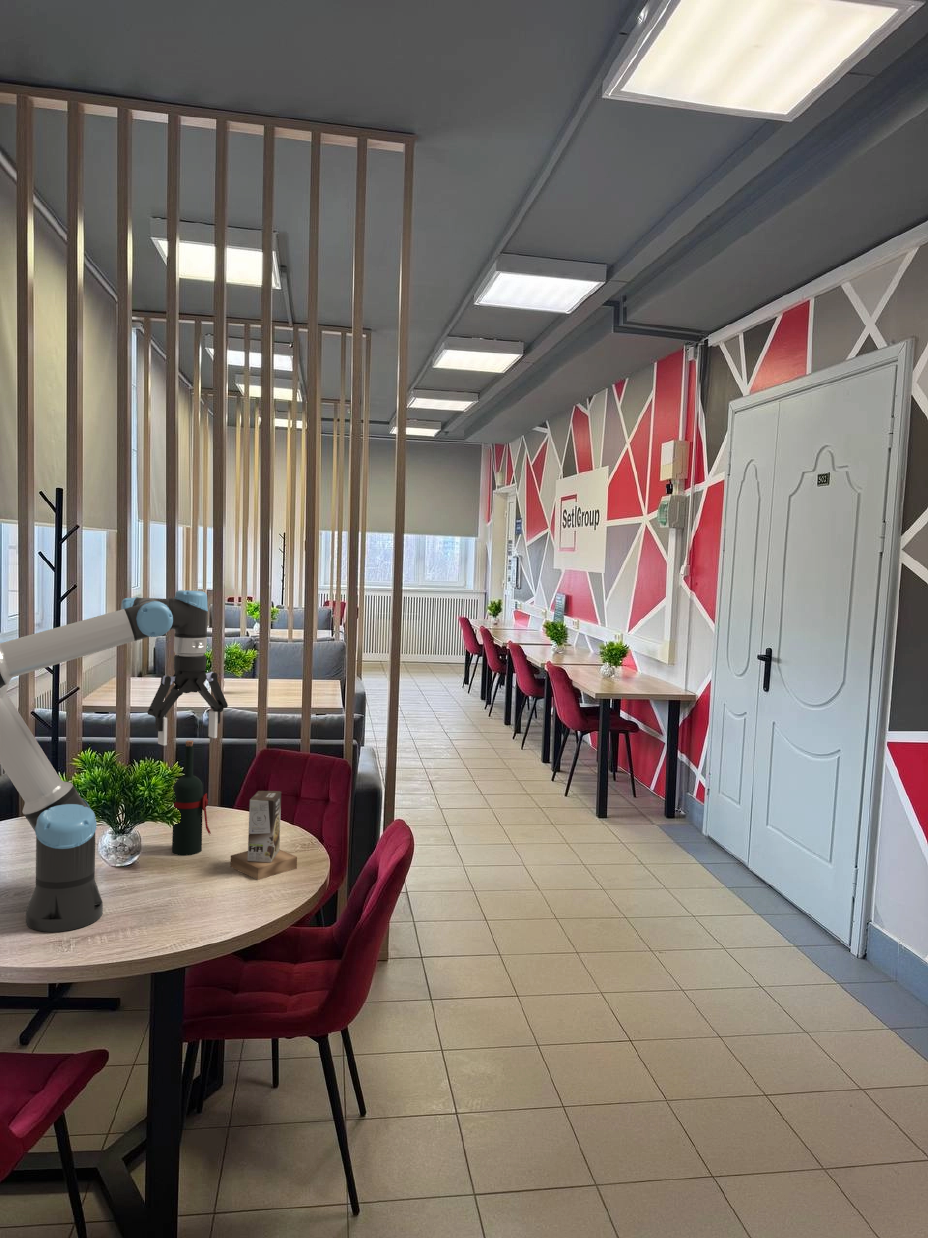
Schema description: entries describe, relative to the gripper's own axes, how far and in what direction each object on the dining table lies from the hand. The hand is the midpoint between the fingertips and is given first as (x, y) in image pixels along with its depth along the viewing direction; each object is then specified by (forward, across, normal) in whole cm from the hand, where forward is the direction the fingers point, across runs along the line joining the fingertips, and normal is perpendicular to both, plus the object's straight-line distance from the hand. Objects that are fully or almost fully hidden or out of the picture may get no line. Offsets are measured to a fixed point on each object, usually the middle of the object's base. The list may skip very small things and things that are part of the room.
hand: (188, 740), depth 204 cm
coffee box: (+32, +19, -6) cm, 38 cm away
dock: (+35, +19, -6) cm, 40 cm away
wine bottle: (+35, +12, +17) cm, 41 cm away
